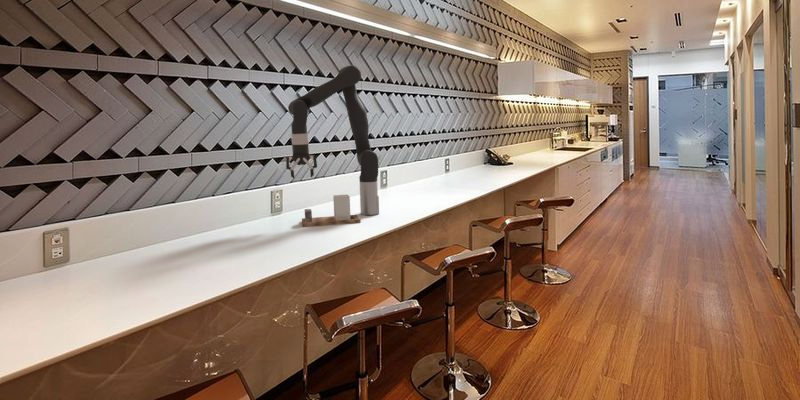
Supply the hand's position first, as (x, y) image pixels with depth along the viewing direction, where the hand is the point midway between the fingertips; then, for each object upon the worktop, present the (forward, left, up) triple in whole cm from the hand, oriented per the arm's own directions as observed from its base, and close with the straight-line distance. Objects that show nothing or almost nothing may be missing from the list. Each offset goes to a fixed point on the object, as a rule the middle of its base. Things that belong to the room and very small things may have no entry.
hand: (302, 177), depth 211 cm
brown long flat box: (-12, +5, -22) cm, 25 cm away
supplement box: (-18, +4, -22) cm, 29 cm away
